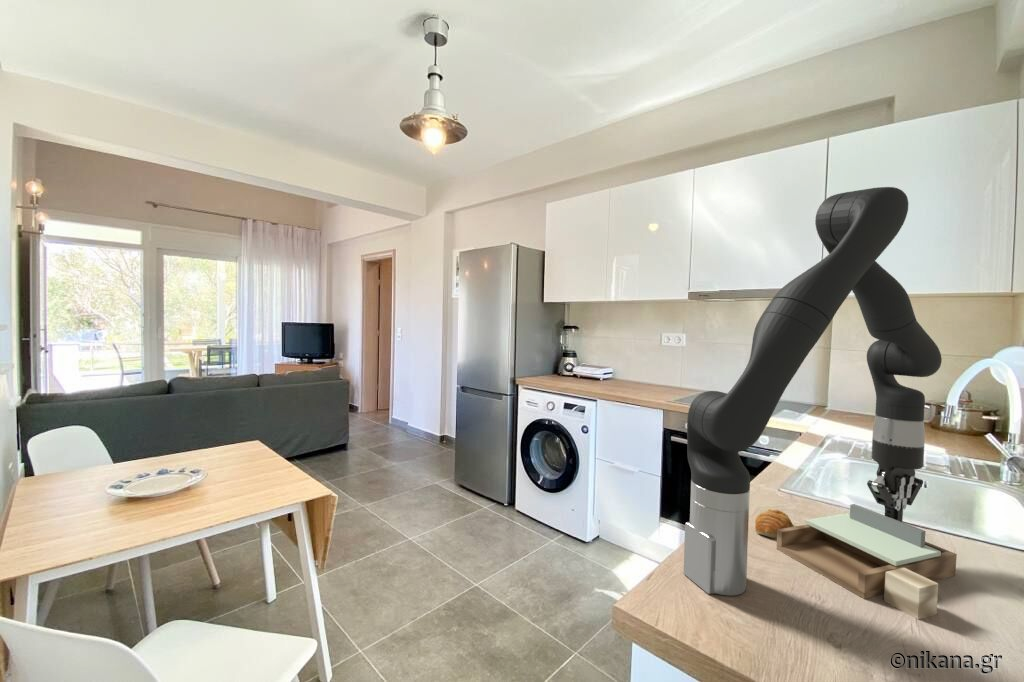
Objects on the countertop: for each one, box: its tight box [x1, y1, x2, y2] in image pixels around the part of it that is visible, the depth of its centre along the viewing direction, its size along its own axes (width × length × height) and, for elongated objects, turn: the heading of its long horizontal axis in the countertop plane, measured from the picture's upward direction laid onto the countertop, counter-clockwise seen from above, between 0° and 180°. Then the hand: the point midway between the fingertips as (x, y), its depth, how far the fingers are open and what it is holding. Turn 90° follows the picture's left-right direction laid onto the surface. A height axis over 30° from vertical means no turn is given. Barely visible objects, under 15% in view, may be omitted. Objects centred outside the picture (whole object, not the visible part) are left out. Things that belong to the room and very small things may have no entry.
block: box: [883, 568, 939, 620], centre depth 66 cm, size 4×4×5 cm
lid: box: [805, 503, 941, 566], centre depth 80 cm, size 12×16×4 cm
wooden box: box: [776, 524, 957, 600], centre depth 80 cm, size 24×16×4 cm, turn 107°
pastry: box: [754, 509, 795, 539], centre depth 91 cm, size 9×7×4 cm
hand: (893, 526), depth 82 cm, fingers closed
